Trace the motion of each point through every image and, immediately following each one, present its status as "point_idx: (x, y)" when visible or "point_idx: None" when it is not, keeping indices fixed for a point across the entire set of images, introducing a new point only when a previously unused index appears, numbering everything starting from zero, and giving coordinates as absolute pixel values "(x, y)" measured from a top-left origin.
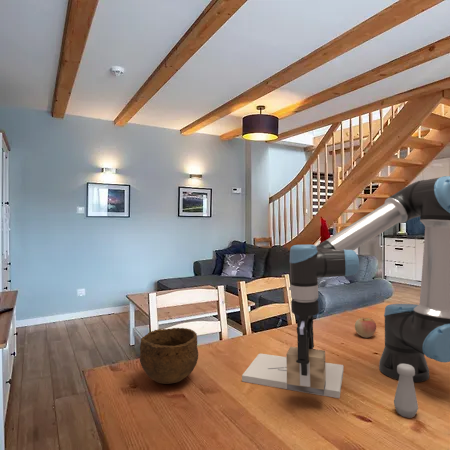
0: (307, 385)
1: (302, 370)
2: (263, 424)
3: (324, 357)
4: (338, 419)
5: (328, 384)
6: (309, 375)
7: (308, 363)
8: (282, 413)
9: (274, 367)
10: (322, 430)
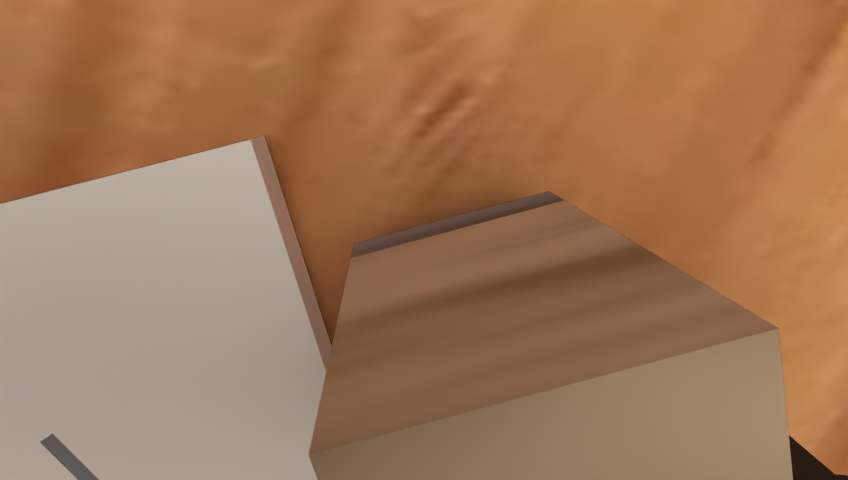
0: None
1: None
2: (845, 406)
3: (484, 362)
4: (567, 44)
5: (185, 264)
6: None
7: (813, 478)
8: None
9: None
10: (752, 93)
